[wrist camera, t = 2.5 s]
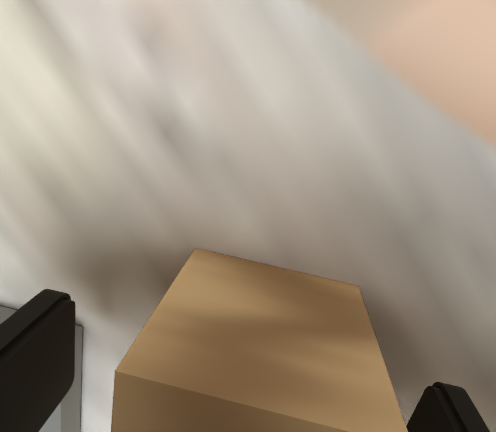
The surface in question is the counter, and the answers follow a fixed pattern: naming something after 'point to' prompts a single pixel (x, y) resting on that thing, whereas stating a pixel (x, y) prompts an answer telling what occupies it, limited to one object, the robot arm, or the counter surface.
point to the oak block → (255, 356)
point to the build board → (68, 411)
